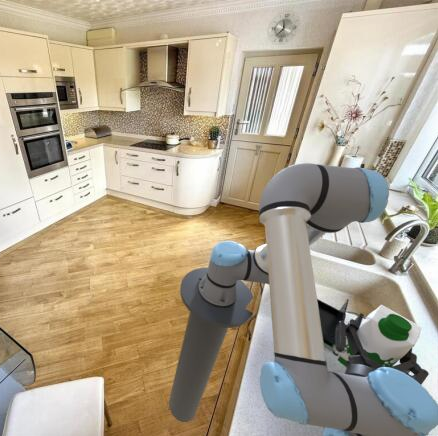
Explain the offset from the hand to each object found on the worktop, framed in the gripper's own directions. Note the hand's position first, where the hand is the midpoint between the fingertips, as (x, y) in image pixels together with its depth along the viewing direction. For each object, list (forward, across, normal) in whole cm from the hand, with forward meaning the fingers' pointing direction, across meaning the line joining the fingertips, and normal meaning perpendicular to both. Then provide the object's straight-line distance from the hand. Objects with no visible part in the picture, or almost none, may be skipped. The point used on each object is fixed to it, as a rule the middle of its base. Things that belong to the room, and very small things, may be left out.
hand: (382, 329), depth 60 cm
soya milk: (-5, 0, -11) cm, 12 cm away
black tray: (+12, -13, -21) cm, 28 cm away
